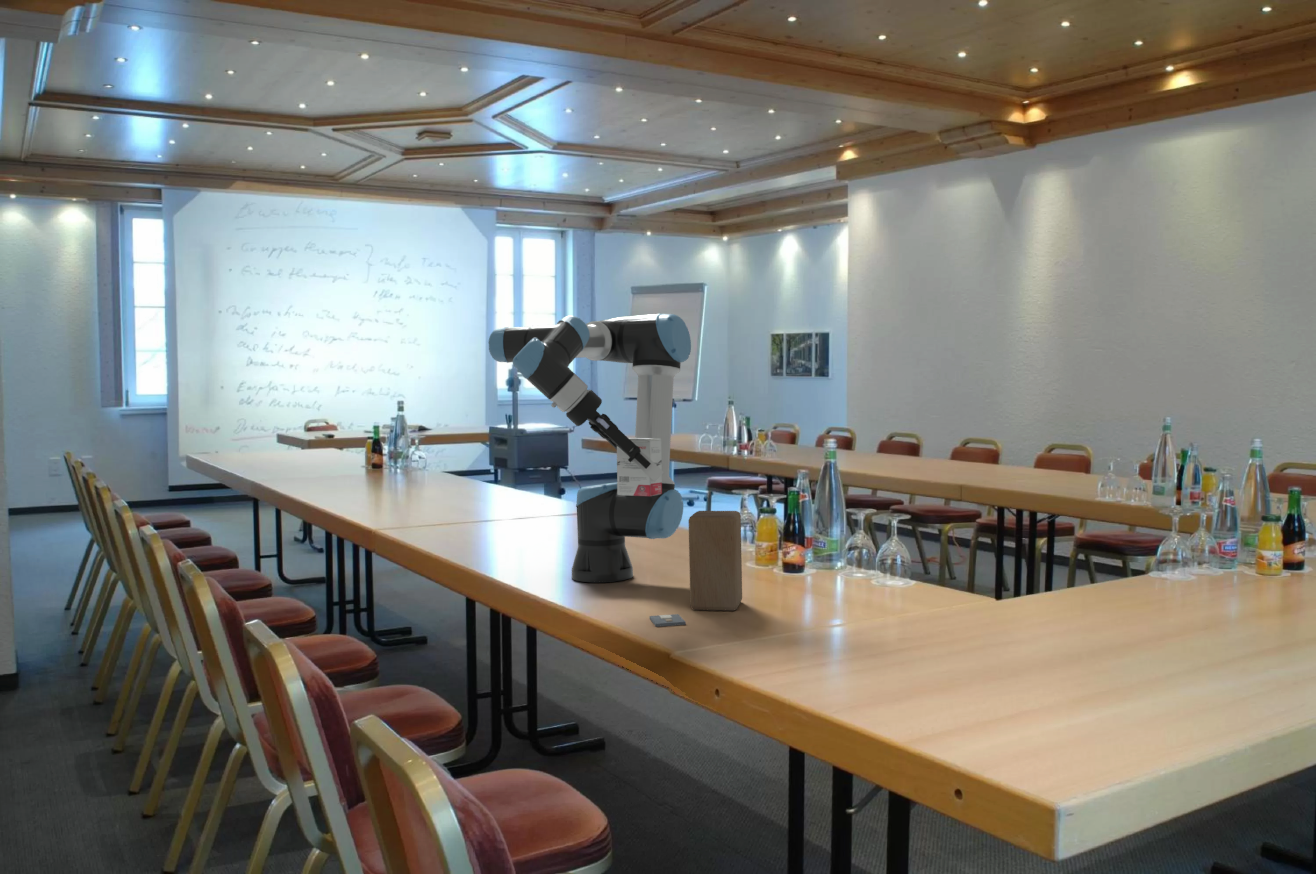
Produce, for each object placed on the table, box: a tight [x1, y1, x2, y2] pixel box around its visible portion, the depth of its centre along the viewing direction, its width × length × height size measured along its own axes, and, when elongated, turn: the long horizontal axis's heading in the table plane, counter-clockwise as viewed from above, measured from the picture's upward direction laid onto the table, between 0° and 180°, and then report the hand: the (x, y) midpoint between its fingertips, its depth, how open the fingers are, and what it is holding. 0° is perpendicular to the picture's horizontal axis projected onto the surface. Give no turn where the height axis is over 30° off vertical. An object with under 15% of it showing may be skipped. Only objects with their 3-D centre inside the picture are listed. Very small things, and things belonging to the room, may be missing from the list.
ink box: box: [616, 437, 662, 496], centre depth 221 cm, size 9×5×12 cm, turn 58°
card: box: [648, 613, 687, 628], centre depth 213 cm, size 7×6×1 cm
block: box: [688, 510, 743, 612], centre depth 226 cm, size 10×10×20 cm
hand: (654, 474), depth 222 cm, fingers closed on ink box, 9 cm apart
